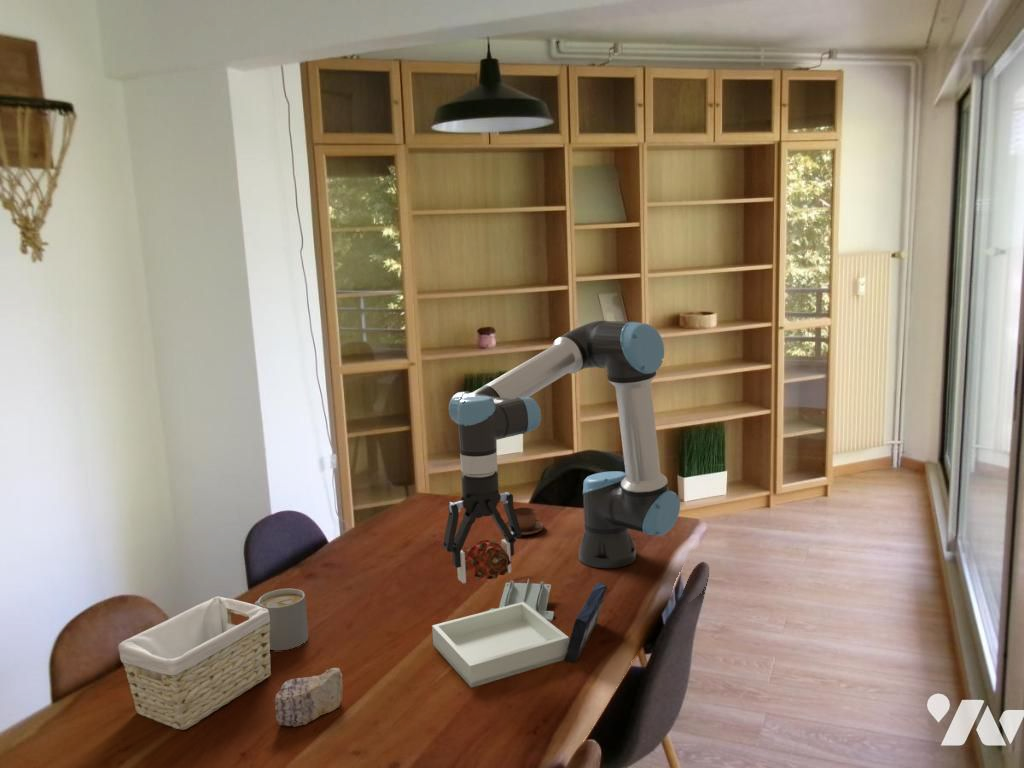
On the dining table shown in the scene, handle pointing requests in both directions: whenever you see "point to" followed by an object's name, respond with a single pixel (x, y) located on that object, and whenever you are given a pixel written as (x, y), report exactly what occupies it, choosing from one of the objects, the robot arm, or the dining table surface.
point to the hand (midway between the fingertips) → (484, 575)
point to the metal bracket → (528, 597)
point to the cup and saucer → (527, 521)
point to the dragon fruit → (487, 560)
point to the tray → (499, 643)
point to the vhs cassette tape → (585, 623)
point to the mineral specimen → (308, 698)
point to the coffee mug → (286, 618)
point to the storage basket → (197, 661)
